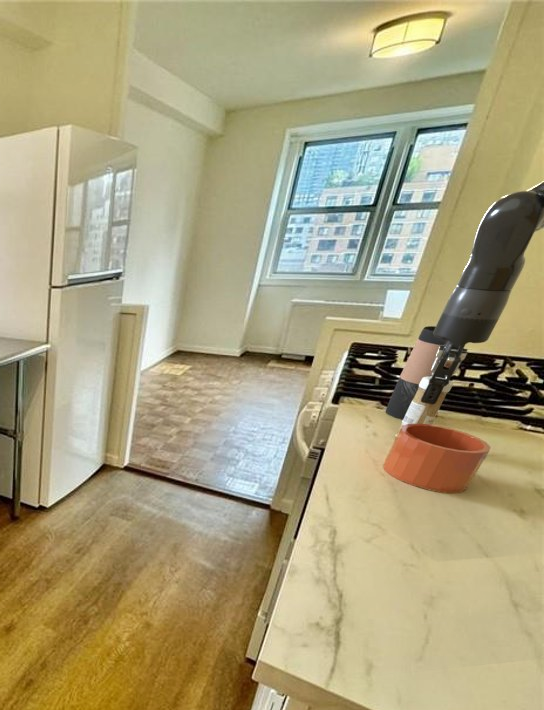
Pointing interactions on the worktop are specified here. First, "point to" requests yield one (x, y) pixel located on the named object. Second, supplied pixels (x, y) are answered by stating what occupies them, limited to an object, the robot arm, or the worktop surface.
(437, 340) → the travel mug
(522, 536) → the worktop surface
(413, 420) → the sprinkles bottle
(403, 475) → the crock
